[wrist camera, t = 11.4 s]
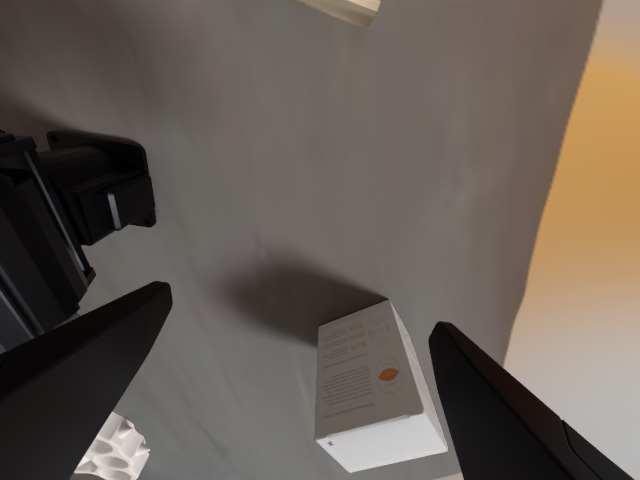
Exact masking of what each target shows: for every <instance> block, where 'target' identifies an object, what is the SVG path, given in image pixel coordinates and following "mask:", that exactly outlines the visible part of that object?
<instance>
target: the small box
mask: <svg viewBox="0 0 640 480" xmlns="http://www.w3.org/2000/svg"><path fill="white" fill-rule="evenodd" d="M315 440H316V441H317V442H318V443H319V444H320V445H321V446H322V447H323V448H324V449H325V450H326V451H327V452H328V453H329V454H330V455H331V456H332V457H333V458H334V459H335V460H336V461H338V462H339V463H340V464H341V465H342V466H343V467H344V468H345V469H346V470H347V471H348V472H350V473H351V472H355V471H360V470H364V469H368V468H373V467H378V466H383V465H387V464H392V463H396V462H401V461H406V460H410V459H414V458H419V457H424V456H428V455H433V454H437V453H442V452H446V451H447V450H448V447H447V444H446V441H445V438H444V435H443V432H442V429H441V426H440V423H439V420H438V418H437V415H436V412H435V409H434V406H433V403H432V400H431V397H430V394H429V391H428V388H427V385H426V382H425V380H424V377H423V374H422V371H421V368H420V365H419V363H418V360H417V357H416V354H415V351H414V348H413V345H412V342H411V340H410V337H409V334H408V332H407V330H406V329H405V327H404V325H403V323H402V321H401V319H400V318H399V316H398V314H397V312H396V310H395V309H394V307H393V305H392V303H391V301H390V300H386V301H383V302H381V303H378V304H376V305H373V306H370V307H368V308H365V309H363V310H360V311H357V312H355V313H352V314H349V315H347V316H344V317H342V318H339V319H337V320H334V321H331V322H329V323H326V324H324V325H321V326H319V328H318V354H317V383H316V407H315Z"/></svg>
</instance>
